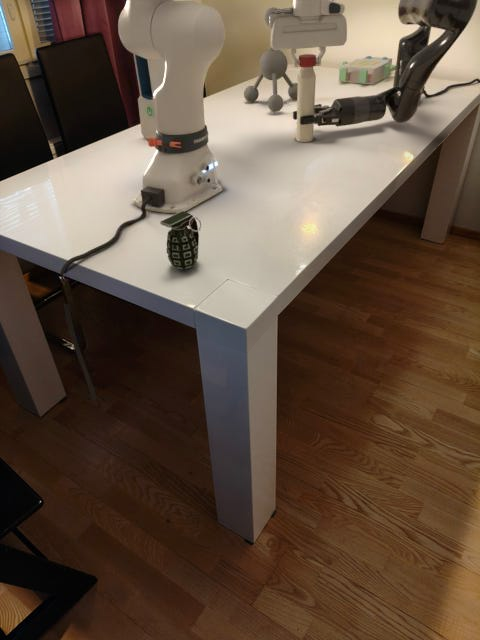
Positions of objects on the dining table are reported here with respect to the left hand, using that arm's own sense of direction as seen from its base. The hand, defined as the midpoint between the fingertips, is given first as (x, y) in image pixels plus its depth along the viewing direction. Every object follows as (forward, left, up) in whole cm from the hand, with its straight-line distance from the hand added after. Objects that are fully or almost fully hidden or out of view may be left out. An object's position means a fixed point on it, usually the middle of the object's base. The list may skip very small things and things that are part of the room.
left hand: (307, 66), depth 134 cm
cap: (0, 0, +2) cm, 2 cm away
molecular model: (+35, +23, -20) cm, 46 cm away
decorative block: (+80, +2, -20) cm, 83 cm away
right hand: (-2, +2, -13) cm, 14 cm away
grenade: (-76, -4, -20) cm, 79 cm away
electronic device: (-12, +42, -20) cm, 48 cm away
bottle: (0, 0, -20) cm, 20 cm away
